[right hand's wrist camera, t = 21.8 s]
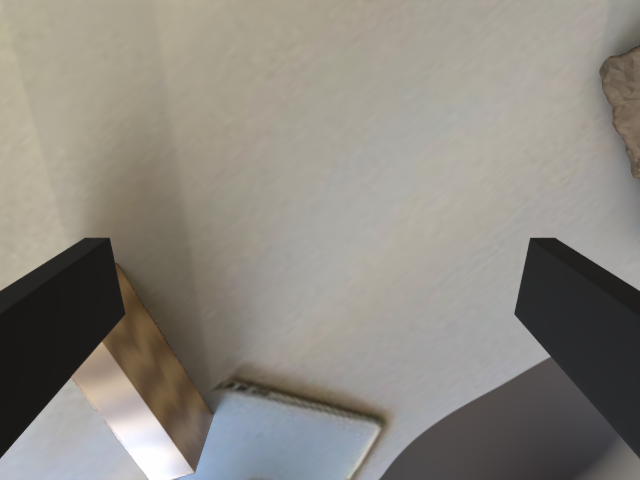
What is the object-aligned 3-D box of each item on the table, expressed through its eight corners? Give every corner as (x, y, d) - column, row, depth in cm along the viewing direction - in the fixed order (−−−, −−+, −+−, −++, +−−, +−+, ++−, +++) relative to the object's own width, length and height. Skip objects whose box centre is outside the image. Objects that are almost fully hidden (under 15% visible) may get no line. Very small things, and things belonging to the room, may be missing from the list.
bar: (75, 278, 45) (24, 318, 37) (116, 262, 44) (72, 299, 36) (177, 426, 53) (153, 485, 45) (213, 415, 52) (195, 472, 44)
